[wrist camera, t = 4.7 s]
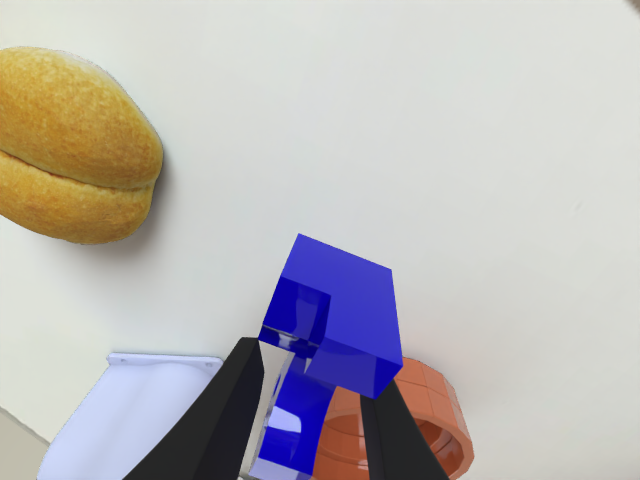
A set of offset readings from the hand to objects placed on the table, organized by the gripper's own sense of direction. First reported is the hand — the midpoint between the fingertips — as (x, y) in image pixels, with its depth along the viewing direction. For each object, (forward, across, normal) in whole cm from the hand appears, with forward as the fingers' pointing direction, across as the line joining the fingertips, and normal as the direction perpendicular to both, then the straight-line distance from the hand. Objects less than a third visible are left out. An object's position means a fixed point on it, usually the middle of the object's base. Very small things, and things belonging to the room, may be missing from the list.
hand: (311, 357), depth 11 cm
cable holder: (+2, 0, 0) cm, 2 cm away
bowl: (+8, -4, +15) cm, 18 cm away
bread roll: (+8, +12, -6) cm, 16 cm away
